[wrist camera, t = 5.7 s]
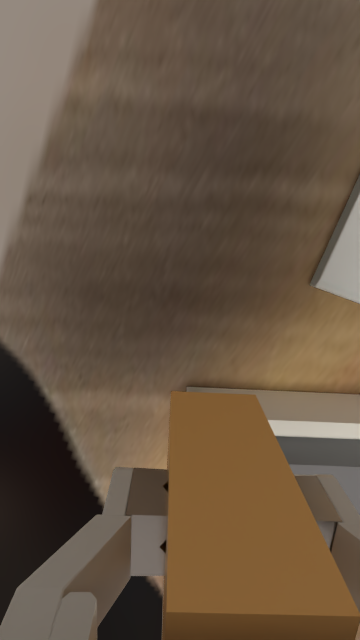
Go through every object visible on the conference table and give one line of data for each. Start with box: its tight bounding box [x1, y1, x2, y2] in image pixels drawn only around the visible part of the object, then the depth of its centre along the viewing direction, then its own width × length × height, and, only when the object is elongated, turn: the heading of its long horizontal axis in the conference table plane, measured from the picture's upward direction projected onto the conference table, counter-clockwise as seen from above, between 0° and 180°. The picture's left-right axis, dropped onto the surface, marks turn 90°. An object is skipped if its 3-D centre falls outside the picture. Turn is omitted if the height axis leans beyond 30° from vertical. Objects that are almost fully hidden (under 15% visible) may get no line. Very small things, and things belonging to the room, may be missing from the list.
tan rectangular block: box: [162, 391, 360, 640], centre depth 9 cm, size 3×3×7 cm
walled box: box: [186, 387, 360, 515], centre depth 24 cm, size 16×16×4 cm
